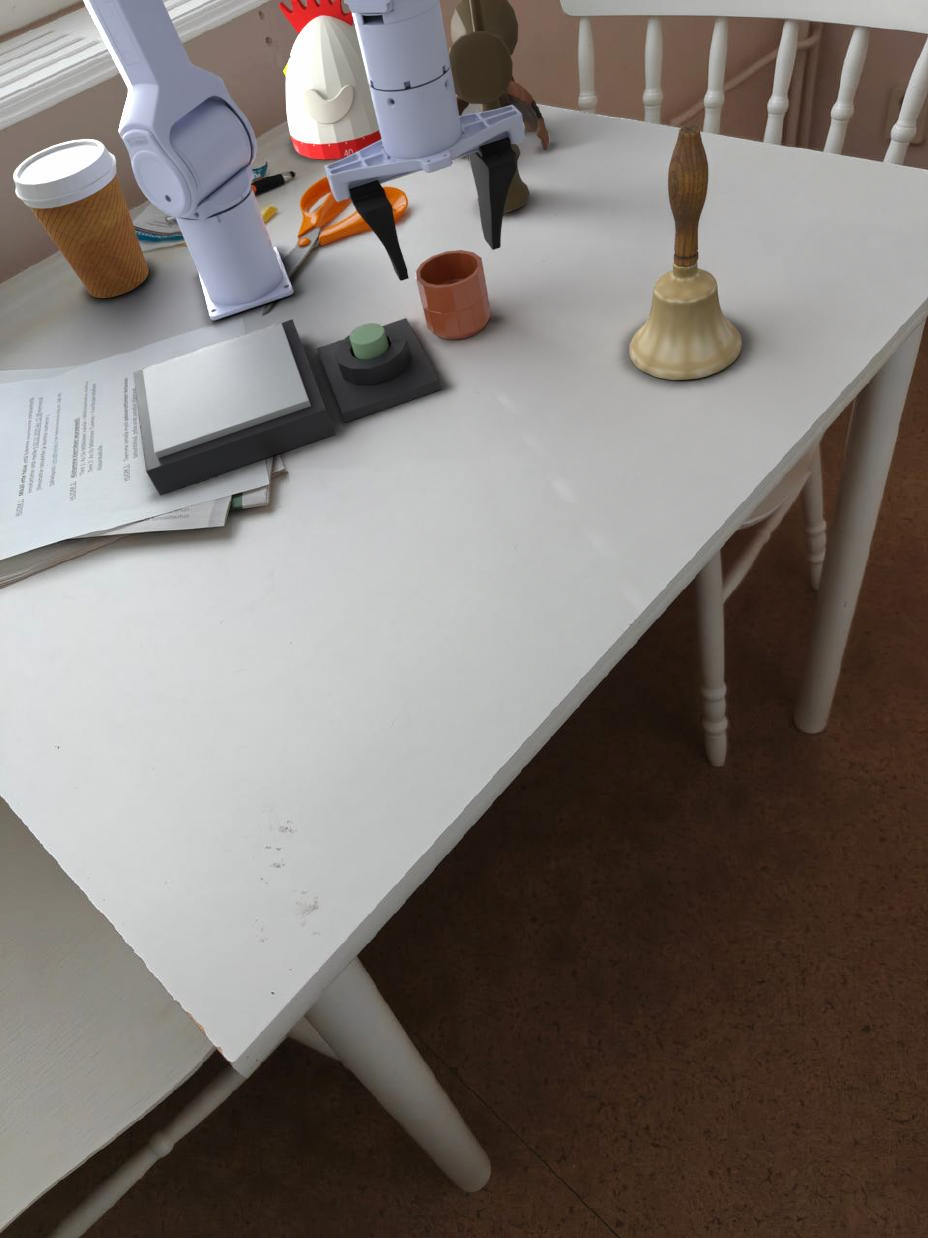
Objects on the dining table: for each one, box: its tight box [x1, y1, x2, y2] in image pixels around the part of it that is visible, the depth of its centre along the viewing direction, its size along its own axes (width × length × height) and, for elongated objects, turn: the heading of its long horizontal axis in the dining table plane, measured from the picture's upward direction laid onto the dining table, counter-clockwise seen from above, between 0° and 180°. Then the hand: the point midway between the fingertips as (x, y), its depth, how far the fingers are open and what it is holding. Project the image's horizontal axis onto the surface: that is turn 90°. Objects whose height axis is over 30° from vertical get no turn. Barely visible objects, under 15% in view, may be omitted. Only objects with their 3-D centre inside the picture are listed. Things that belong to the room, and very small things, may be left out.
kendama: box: [448, 0, 530, 214], centre depth 82 cm, size 6×10×20 cm, turn 176°
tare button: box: [349, 323, 389, 359], centre depth 73 cm, size 3×3×2 cm
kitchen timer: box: [278, 0, 382, 160], centre depth 101 cm, size 14×14×15 cm
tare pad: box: [316, 317, 443, 423], centre depth 74 cm, size 10×8×2 cm
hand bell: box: [628, 124, 743, 381], centre depth 64 cm, size 8×8×16 cm
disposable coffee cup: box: [12, 138, 150, 299], centre depth 89 cm, size 10×10×12 cm
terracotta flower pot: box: [414, 249, 492, 341], centre depth 76 cm, size 5×6×5 cm
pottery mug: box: [456, 74, 550, 150], centre depth 96 cm, size 12×10×8 cm
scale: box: [132, 318, 336, 496], centre depth 74 cm, size 14×14×3 cm
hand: (447, 258), depth 73 cm, fingers open, 7 cm apart
